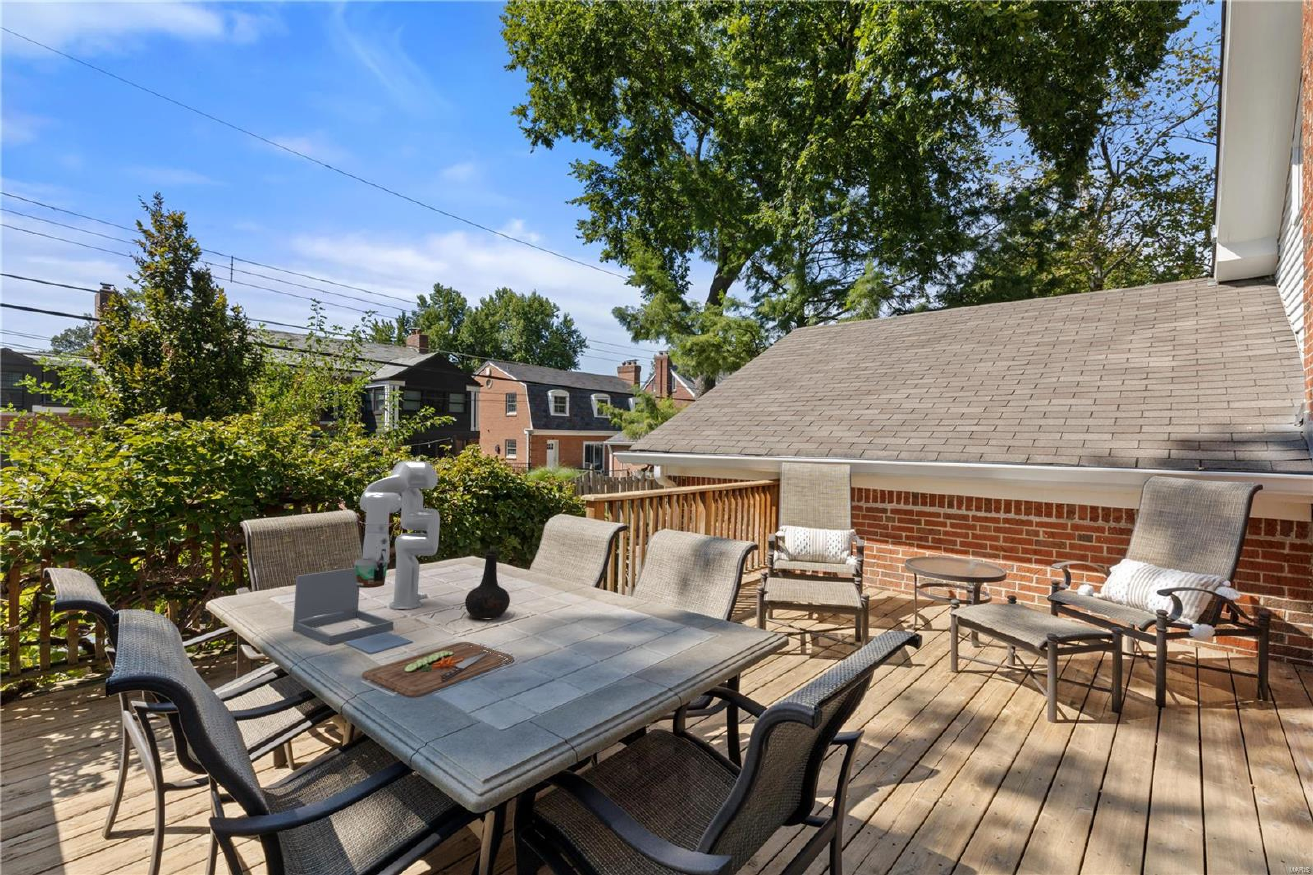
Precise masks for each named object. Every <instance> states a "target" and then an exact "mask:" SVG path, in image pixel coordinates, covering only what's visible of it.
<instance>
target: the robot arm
mask: <svg viewBox="0 0 1313 875" xmlns="http://www.w3.org/2000/svg"><path fill="white" fill-rule="evenodd" d="M438 481H439V477H438V473H437V471H436V469H435V468H434V467H433V465H432V464H430V463H428V462H426V461H419V460H418V461H415V460H402V461H399V462H398V463H396V464H395V466H394V467H393V469H392V470H391V472H390V473H389V475H388V476H387V477H384V478H381V479H379V480H376V481H373V482H371V483H370V484H369V485H368V486H367V487H366V488H365V489H364V491H363V493H362V494H361V497H360V499H359V507H360V509H361V510H362V511H364V512H366V515H365V529H364V530H365V531H364V539H363V545H362V555H361V558H362V560H373V561H375V562H376V565H375V567H376V570H374V581H375V582H376V581H382V580H383V574H384V569H385V566H386V564H387V563H388V560H390V550H391V547H390V534H389V526H390V524H389V523H390V514H394V513H397V512H399V511H400V509H401V513H400V526H401V528H402V529H404V530H406V531H407V530H408V531H426V533H420V532H403V533H401V534H399V535H397V537H396V538H395V541H394V546H395V547H394V548H395V579H394V589H393V590H394V592H393V601H391V602H390V603H389V608H390V609H392V610H398V609H406V610H412V609H413V608H414V609H417V608H420V607H421V606H422V602H421V601H422V600H424V599H427V598H428V594H426V593H424V594H420V593H419V581H420V562H419V561H418V559H417V556H421V557H423V556H435V555H436V553H437V552H438V548H439V539H440V538H439V536H440V525H441V524H440V523H441V521H440V520H441V517H440V513H439V511H438V509H435V508H424V506H423V505H424V495H423V493H422V492H421V490H423V489H424V490H432V489H434V488H436V487H437V484H438ZM379 559H382V560H381V561H379ZM380 562H382V563H380ZM378 563H380V564H378ZM388 564H389V563H388ZM388 564H387V565H388ZM420 605H421V606H420ZM419 606H420V607H419ZM416 607H417V608H416Z"/></svg>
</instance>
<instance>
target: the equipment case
mask: <svg viewBox="0 0 1313 875" xmlns="http://www.w3.org/2000/svg"><path fill="white" fill-rule="evenodd" d="M294 592H295V593H294V607H293V621H292V622H293V624H292V631H293V630H294V631H293V632H296V633H298V632H299V633H298V634H300V633H301V635H303V636H306V637H307V638H310V639H313V640H315V641H318V642H320V641H321V642H320V643H323V644H325V645H327V646H332V645H336V644H340V643H344V642H348V641H352V640H356V639H360V638H364V637H368V636H372V635H376V634H380V633H384V632H389V631H392V630H394V625H395V624H394V621H392V620H390V619H387V618H383V617H381V616H378V615H374V614H372V613H369V612H366V611H363V610H360V609H359V600H360V587H357V577H356V567H350V568H344V569H343V568H342V569H335V570H329V571H320V572H314V573H313V572H312V573H307V574H301V575H296V578H295V591H294ZM354 618H356V619H357V618H358V620H361V621H363V622H366V623H370V624H372V625H371V626H365V627H362V628H357V629H353V630H348V631H344V632H340V633H335V634H332V635H331V634H329V633H326V632H323V631H322V630H321V631H320V630H319V629H316V628H318V627H322V626H327V625H332V623H333V624H335V623H336V624H337V623H340V622H341V623H342V622H347V621H351V620H354ZM350 619H351V620H350ZM312 627H314V628H312Z"/></svg>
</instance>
